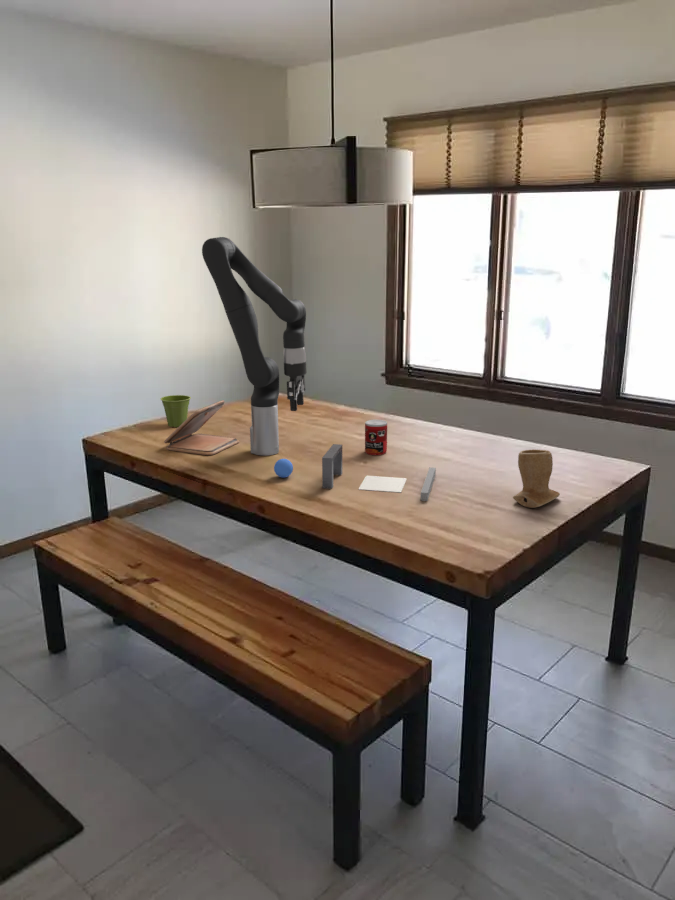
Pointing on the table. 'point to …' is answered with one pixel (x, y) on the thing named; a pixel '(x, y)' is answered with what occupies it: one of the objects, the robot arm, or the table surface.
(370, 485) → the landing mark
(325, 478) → the bridge
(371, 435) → the canned food
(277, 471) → the ball
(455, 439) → the table surface
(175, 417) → the plant pot
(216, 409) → the case
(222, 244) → the robot arm
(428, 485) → the wall
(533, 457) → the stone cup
